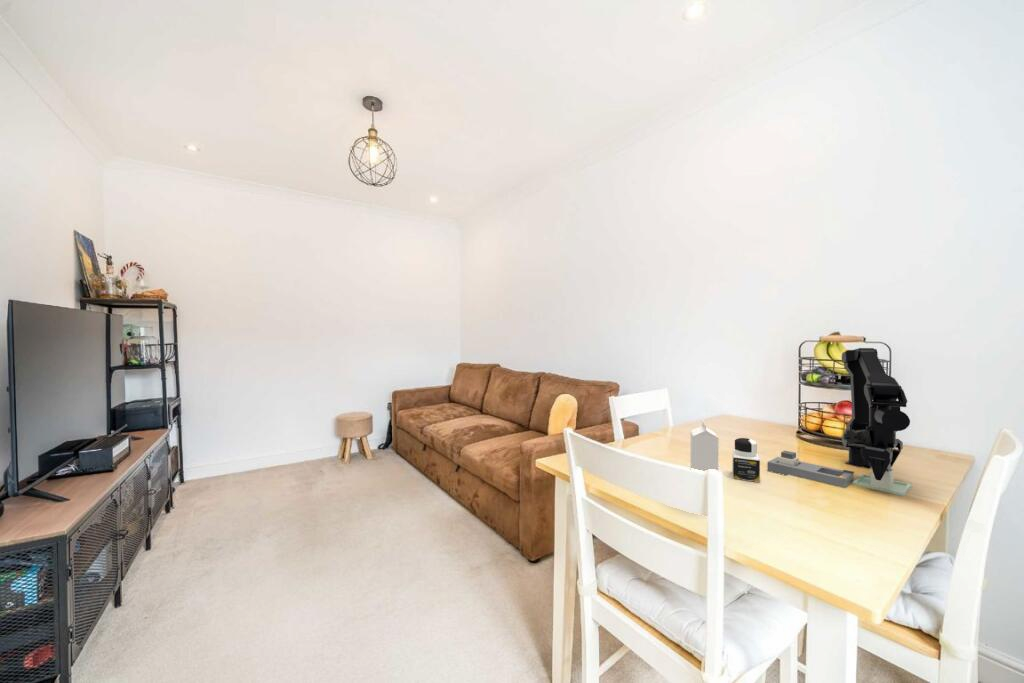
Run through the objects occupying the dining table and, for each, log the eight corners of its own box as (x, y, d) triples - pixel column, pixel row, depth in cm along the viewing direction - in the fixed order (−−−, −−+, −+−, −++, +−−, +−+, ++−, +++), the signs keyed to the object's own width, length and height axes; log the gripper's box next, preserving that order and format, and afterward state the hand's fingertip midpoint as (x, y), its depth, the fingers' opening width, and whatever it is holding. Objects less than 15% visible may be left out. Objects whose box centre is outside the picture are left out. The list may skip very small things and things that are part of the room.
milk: (693, 507, 103) (692, 424, 102) (690, 498, 109) (689, 419, 108) (719, 510, 101) (718, 425, 100) (714, 501, 107) (714, 420, 106)
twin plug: (783, 468, 132) (783, 449, 132) (798, 472, 128) (798, 452, 128) (778, 471, 129) (778, 452, 129) (793, 475, 126) (793, 455, 126)
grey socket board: (778, 465, 135) (778, 455, 135) (854, 482, 119) (854, 471, 119) (767, 470, 130) (767, 460, 130) (845, 489, 113) (845, 478, 113)
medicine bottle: (733, 479, 123) (733, 440, 123) (732, 471, 129) (732, 435, 129) (759, 482, 119) (760, 443, 119) (757, 475, 126) (757, 438, 126)
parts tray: (862, 477, 123) (862, 473, 123) (911, 488, 114) (911, 484, 114) (852, 485, 117) (852, 481, 116) (904, 497, 108) (904, 493, 108)
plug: (874, 481, 118) (874, 460, 118) (893, 485, 115) (893, 464, 115) (870, 484, 116) (870, 463, 116) (890, 489, 112) (890, 467, 112)
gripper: (855, 415, 127) (854, 463, 128) (838, 423, 116) (837, 475, 116) (903, 420, 118) (902, 472, 119) (889, 430, 107) (889, 487, 107)
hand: (881, 476), depth 115 cm, fingers open, 9 cm apart
